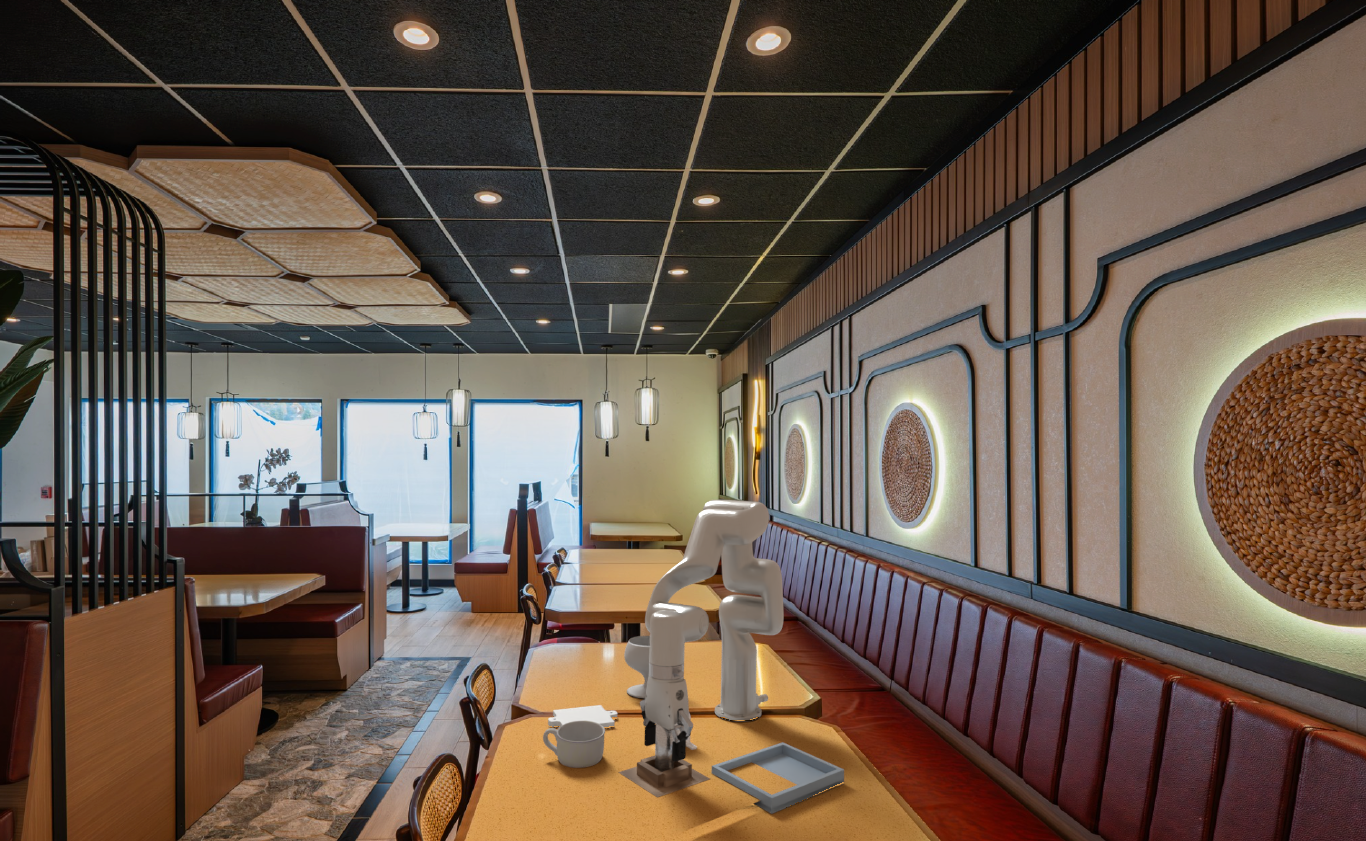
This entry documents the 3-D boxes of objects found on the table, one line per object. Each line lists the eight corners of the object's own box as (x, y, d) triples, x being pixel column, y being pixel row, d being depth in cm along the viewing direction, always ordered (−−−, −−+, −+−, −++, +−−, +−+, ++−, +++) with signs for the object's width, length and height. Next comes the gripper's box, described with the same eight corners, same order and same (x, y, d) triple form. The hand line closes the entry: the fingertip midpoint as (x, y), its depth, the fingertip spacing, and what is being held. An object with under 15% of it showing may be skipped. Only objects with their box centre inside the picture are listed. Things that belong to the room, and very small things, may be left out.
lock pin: (665, 769, 157) (667, 713, 158) (677, 776, 154) (678, 718, 155) (650, 774, 155) (652, 717, 155) (662, 781, 152) (663, 723, 152)
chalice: (670, 701, 205) (671, 647, 205) (621, 700, 205) (622, 646, 206) (672, 685, 219) (673, 635, 219) (625, 684, 219) (626, 634, 220)
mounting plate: (553, 737, 179) (554, 729, 179) (543, 718, 191) (543, 711, 191) (623, 728, 185) (624, 720, 185) (609, 711, 197) (609, 703, 197)
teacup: (612, 760, 165) (612, 724, 165) (590, 780, 155) (591, 741, 155) (557, 750, 170) (558, 715, 170) (533, 769, 159) (534, 732, 160)
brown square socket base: (669, 763, 164) (670, 745, 164) (710, 786, 153) (710, 766, 153) (618, 779, 155) (618, 760, 156) (657, 805, 144) (657, 784, 145)
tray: (782, 755, 170) (782, 742, 170) (843, 783, 156) (844, 769, 156) (711, 780, 156) (711, 765, 156) (771, 813, 142) (771, 798, 142)
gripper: (706, 677, 151) (704, 761, 150) (656, 658, 164) (654, 735, 164) (677, 684, 146) (675, 771, 145) (629, 663, 160) (627, 742, 159)
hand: (664, 752), depth 155 cm, fingers open, 9 cm apart
